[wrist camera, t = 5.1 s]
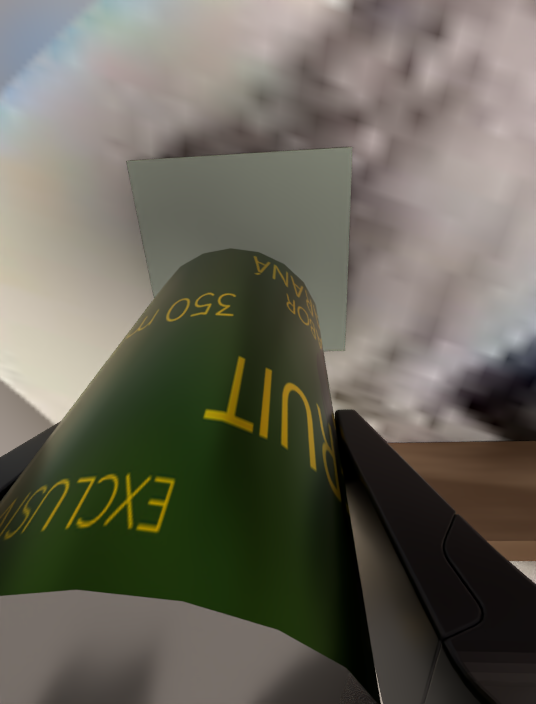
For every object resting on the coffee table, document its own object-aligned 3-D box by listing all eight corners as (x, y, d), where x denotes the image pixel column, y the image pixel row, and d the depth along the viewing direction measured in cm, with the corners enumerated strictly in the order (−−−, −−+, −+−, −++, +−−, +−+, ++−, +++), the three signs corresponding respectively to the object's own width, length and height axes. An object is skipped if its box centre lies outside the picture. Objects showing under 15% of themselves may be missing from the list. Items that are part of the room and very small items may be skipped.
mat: (344, 347, 23) (345, 350, 23) (167, 352, 24) (165, 356, 23) (351, 146, 18) (352, 147, 18) (129, 160, 19) (126, 161, 18)
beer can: (230, 408, 16) (124, 949, 6) (129, 306, 14) (-333, 840, 4) (348, 334, 14) (521, 919, 4) (250, 205, 12) (42, 675, 2)
